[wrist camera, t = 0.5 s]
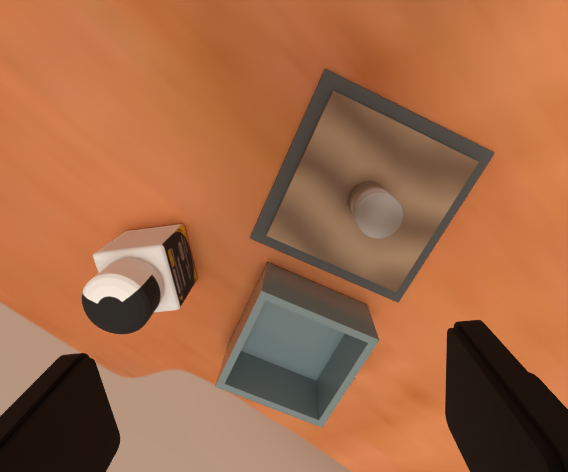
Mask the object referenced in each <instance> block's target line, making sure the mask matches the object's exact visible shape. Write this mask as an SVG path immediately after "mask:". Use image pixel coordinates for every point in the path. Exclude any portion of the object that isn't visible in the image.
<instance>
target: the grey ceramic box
mask: <svg viewBox="0 0 568 472" xmlns="http://www.w3.org/2000/svg"><path fill="white" fill-rule="evenodd" d="M378 341H379V338H378V335H377V332H376V329H375V327H374V324H373V321H372V318H371V315H370V312H369V309H368V306H367V304H364V303H362V302H360V301H357V300H355V299H353V298H350V297H348V296H346V295H343V294H341V293H339V292H336V291H334V290H332V289H329V288H327V287H325V286H322V285H320V284H318V283H315V282H313V281H311V280H308V279H306V278H304V277H301V276H299V275H297V274H294V273H292V272H290V271H287V270H285V269H283V268H280V267H278V266H276V265H273V264H271V263H269V262H267V264H266V266H265V268H264V271H263V273H262V275H261V277H260V279H259V281H258V283H257V285H256V287H255V289H254V292H253V294H252V296H251V298H250V300H249V302H248V304H247V306H246V308H245V310H244V313H243V315H242V317H241V319H240V321H239V323H238V325H237V327H236V329H235V331H234V334H233V336H232V338H231V340H230V342H229V344H228V346H227V349H226V352H225V356H224V359H223V362H222V366H221V369H220V372H219V375H218V379H217V382H216V385H215V387H218V388H220V389H223V390H225V391H228V392H231V393H233V394H236V395H238V396H241V397H244V398H246V399H249V400H251V401H254V402H257V403H259V404H262V405H264V406H267V407H270V408H272V409H275V410H277V411H280V412H283V413H285V414H288V415H291V416H293V417H296V418H298V419H301V420H304V421H306V422H309V423H311V424H314V425H317V426H319V427H323V426H324V424H325V423H326V421H327V419H328V418H329V416H330V415H331V413H332V412H333V410H334V409H335V407H336V406H337V404H338V403H339V401H340V399H341V398H342V396H343V395H344V393H345V392H346V390H347V389H348V387H349V386H350V384H351V383H352V381H353V379H354V378H355V376H356V375H357V373H358V372H359V370H360V369H361V367H362V366H363V364H364V363H365V361H366V359H367V358H368V356H369V355H370V353H371V352H372V350H373V349H374V347H375V346H376V344H377V343H378Z"/></svg>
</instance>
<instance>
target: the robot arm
mask: <svg viewBox="0 0 568 472" xmlns="http://www.w3.org/2000/svg"><path fill="white" fill-rule="evenodd" d="M445 415H446V420H447V424H448V427H449V429H450V431H451V433H452V435H453V438H454V440H455V442H456V444H457V446H458V448H459V450H460V452H461V454H462V456H463V458H464V460H465V462H466V464H467V466H468V468H469V470H470V472H568V409H567V408H566V407H565V406H564V405H563V404H562V403H561V402H560V401H559V400H558V398H557V397H556V396H555V395H554V394H553V393H552V392H551V391H550V390H549V389H548V388H547V386H546V385H545V384H544V383H543V382H542V381H541V380H540V379H539V378H538V377H537V376H535V375H534V374H532V373H529V372H528V371H527V370H526V369H525V368H524V367H523V366H522V365H521V364H520V363H519V361H518V360H517V359H516V358H515V357H514V356H513V355H512V354H511V353H510V351H509V350H508V349H507V348H506V347H505V346H504V345H503V344H502V343H501V341H500V340H499V339H498V338H497V337H496V336H495V335H494V334H493V333H492V332H491V330H490V329H489V328H488V327H487V326H486V325H485V324H484V323H483V322H482V321H481V320H472V321H460V322H456V323H455V324H454V328H449V329H448V331H447V360H446V405H445ZM119 444H120V434H119V430H118V428H117V425H116V422H115V419H114V416H113V413H112V410H111V407H110V404H109V401H108V398H107V395H106V392H105V389H104V386H103V383H102V380H101V378H100V374H99V371H98V369H97V366H96V363H95V361H94V360H93V359H92V358H90V357H89V356H88V355H87V354H85V353H80V354H68V355H62V356H60V357H59V358H58V359H57V360H56V361H55V362H54V363H53V364H52V365H51V366H50V367H49V368H48V369H47V370H46V371H45V372H44V373H43V374H42V375H41V376H40V377H39V378H38V379H37V380H36V381H35V382H34V383H33V384H32V385H31V386H30V387H29V388H28V389H27V390H26V391H25V392H24V393H23V394H22V395H21V396H20V397H19V398H18V399H17V400H16V401H15V402H14V403H13V404H12V405H11V406H10V407H9V408H8V409H7V410H6V411H5V412H4V413H3V414H2V415H1V417H0V472H106V470H107V469H108V467H109V465H110V463H111V461H112V459H113V457H114V455H115V454H116V452H117V450H118V448H119Z"/></svg>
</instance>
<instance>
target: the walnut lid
mask: <svg viewBox="0 0 568 472" xmlns="http://www.w3.org/2000/svg"><path fill="white" fill-rule="evenodd" d="M478 163H479V162H478V161H476V160H474V159H472V158H470V157H468V156H466V155H464V154H462V153H460V152H458V151H456V150H454V149H452V148H450V147H448V146H446V145H443V144H441V143H439V142H437V141H435V140H433V139H431V138H429V137H427V136H425V135H423V134H421V133H419V132H417V131H415V130H413V129H411V128H409V127H407V126H405V125H403V124H401V123H399V122H397V121H395V120H393V119H391V118H389V117H386V116H384V115H382V114H380V113H378V112H376V111H374V110H372V109H370V108H368V107H366V106H364V105H362V104H360V103H358V102H356V101H354V100H352V99H350V98H348V97H346V96H344V95H342V94H340V93H338V92H336V91H334V90H333V91H332V93H331V95H330V97H329V99H328V102H327V104H326V106H325V108H324V110H323V112H322V115H321V117H320V119H319V121H318V123H317V125H316V128H315V130H314V132H313V134H312V136H311V138H310V141H309V143H308V145H307V147H306V149H305V151H304V154H303V156H302V158H301V160H300V162H299V165H298V167H297V169H296V171H295V173H294V175H293V178H292V180H291V182H290V184H289V186H288V188H287V191H286V193H285V195H284V197H283V199H282V201H281V204H280V206H279V208H278V210H277V212H276V214H275V217H274V219H273V221H272V223H271V225H270V227H269V230H268V232H267V235H266V236H268V237H270V238H273V239H275V240H277V241H280V242H282V243H284V244H287V245H289V246H291V247H293V248H296V249H298V250H300V251H303V252H305V253H307V254H309V255H312V256H314V257H316V258H319V259H321V260H323V261H326V262H328V263H330V264H332V265H335V266H337V267H339V268H342V269H344V270H346V271H348V272H351V273H353V274H355V275H358V276H360V277H362V278H365V279H367V280H369V281H371V282H374V283H376V284H378V285H381V286H383V287H385V288H387V289H390V290H392V291H394V292H397V290H398V289H399V287H400V286H401V284H402V283H403V281H404V279H405V278H406V276H407V275H408V273H409V271H410V270H411V268H412V267H413V265H414V264H415V262H416V260H417V259H418V257H419V256H420V254H421V253H422V251H423V249H424V248H425V246H426V245H427V243H428V242H429V240H430V238H431V237H432V235H433V234H434V232H435V230H436V229H437V227H438V226H439V224H440V223H441V221H442V219H443V218H444V216H445V215H446V213H447V212H448V210H449V208H450V207H451V205H452V204H453V202H454V201H455V199H456V197H457V196H458V194H459V193H460V191H461V190H462V188H463V186H464V185H465V183H466V182H467V180H468V178H469V177H470V175H471V174H472V172H473V171H474V169H475V167H476V166H477V164H478Z"/></svg>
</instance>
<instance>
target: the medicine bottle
mask: <svg viewBox="0 0 568 472" xmlns="http://www.w3.org/2000/svg"><path fill="white" fill-rule="evenodd" d="M93 258H94V261H95V264H96V267H97V270H98V274H97V275H96V276H95V277H94V278H92V279H91V280H90V281H89V282H88V283H87V284H86V286H85V287H84V290H83V293H82V304H83V308H84V311H85V313H86V315H87V316H88V318H89V319H90V320H91V321H92V322H93V323H94V324H95V325H96V326H97V327H99V328H101V329H102V330H105V331H107V332H110V333H115V334H129V333H133V332H135V331H138V330H139V329H141V328H142V327H143V326H144V325H145V324H146V322H147V321H148V320H149V318H150V317H151V315H152V314H153V313H154V312H163V311H172V310H178V309H179V308H180V307H181V305H182V303H183V302H184V300H185V298H186V297H187V295H188V293H189V292H190V290H191V288H192V287H193V285H194V283H195V282H196V280H197V275H196V271H195V267H194V263H193V259H192V255H191V251H190V247H189V243H188V239H187V235H186V231H185V226H184V225H183V224H177V225H169V226H161V227H154V228H146V229H138V230H130V231H125V232H123V233H122V234H121V235H119V236H118V237H116V238H115V239H114V240H112V241H111V242H109V243H108V244H106V245H105V246H104V247H102V248H101V249H99V250H98V251H97V252H95V253H94V255H93Z"/></svg>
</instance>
